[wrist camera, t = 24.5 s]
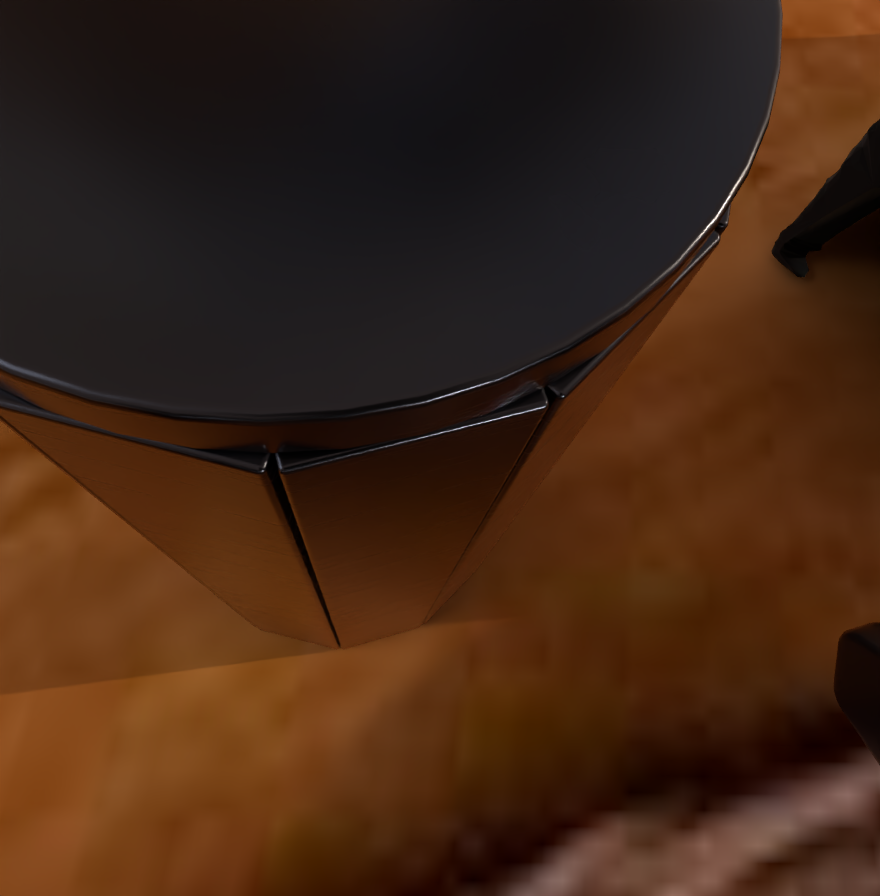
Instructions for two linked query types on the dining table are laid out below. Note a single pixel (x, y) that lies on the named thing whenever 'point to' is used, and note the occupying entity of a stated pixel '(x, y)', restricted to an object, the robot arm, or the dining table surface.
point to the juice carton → (834, 205)
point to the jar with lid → (350, 265)
